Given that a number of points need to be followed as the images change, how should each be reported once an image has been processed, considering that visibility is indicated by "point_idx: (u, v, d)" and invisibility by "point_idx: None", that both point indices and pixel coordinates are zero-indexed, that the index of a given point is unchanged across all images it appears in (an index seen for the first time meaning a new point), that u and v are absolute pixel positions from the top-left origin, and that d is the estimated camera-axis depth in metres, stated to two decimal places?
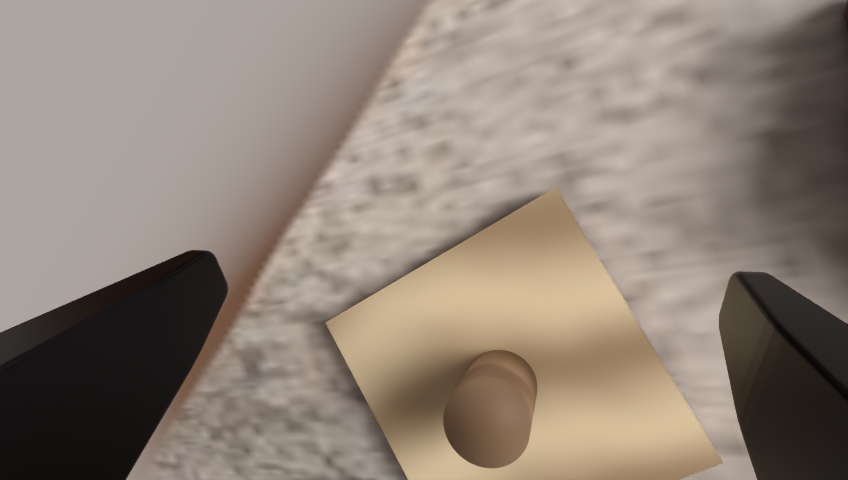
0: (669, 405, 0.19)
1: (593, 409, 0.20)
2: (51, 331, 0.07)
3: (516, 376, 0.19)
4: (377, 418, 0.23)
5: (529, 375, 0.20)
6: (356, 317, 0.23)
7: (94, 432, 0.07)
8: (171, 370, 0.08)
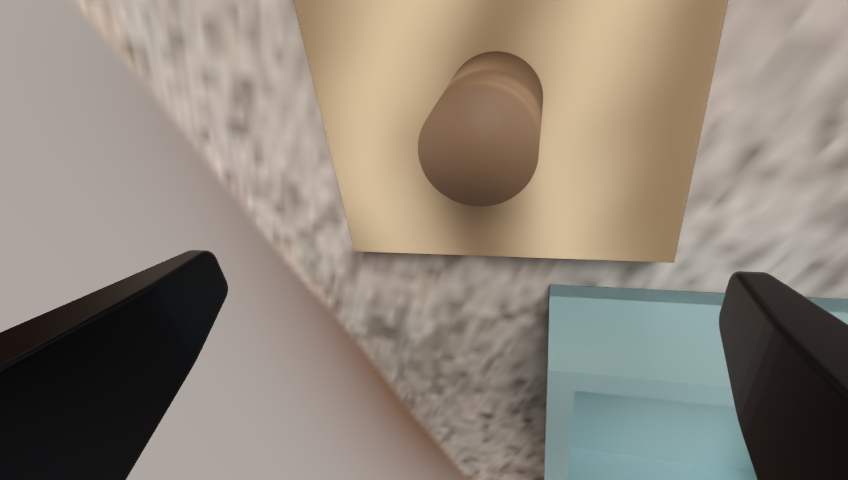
0: None
1: None
2: (51, 331, 0.07)
3: (459, 79, 0.13)
4: (474, 253, 0.20)
5: (485, 60, 0.14)
6: (359, 219, 0.20)
7: (94, 432, 0.07)
8: (171, 370, 0.08)
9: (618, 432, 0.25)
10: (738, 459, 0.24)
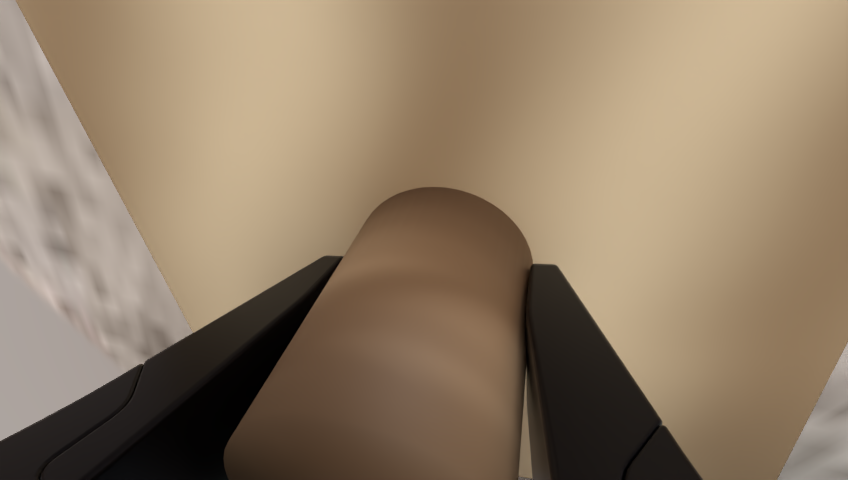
0: None
1: (609, 88, 0.06)
2: (223, 348, 0.06)
3: (341, 290, 0.06)
4: None
5: (411, 221, 0.07)
6: None
7: None
8: None
9: None
10: None
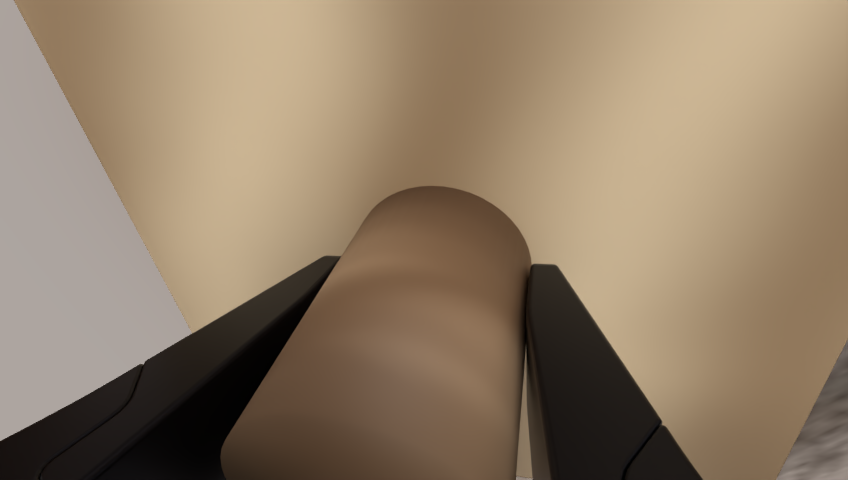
0: None
1: (607, 87, 0.06)
2: (223, 348, 0.06)
3: (339, 288, 0.06)
4: None
5: (409, 220, 0.07)
6: None
7: None
8: None
9: None
10: None
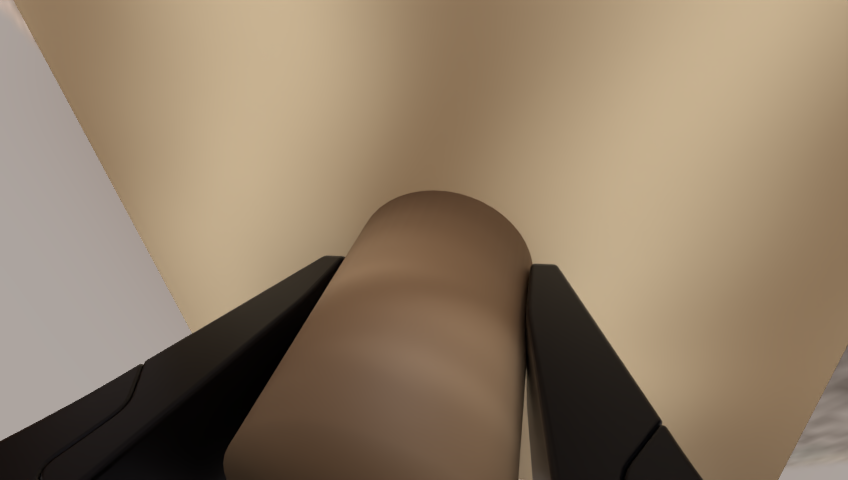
0: None
1: (609, 93, 0.06)
2: (223, 349, 0.06)
3: (341, 294, 0.06)
4: None
5: (410, 225, 0.07)
6: None
7: None
8: None
9: None
10: None
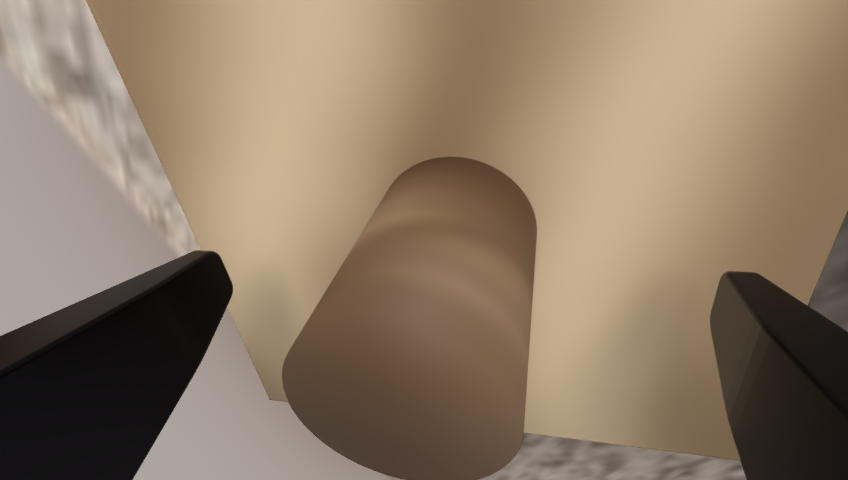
0: None
1: (603, 66, 0.07)
2: (58, 332, 0.07)
3: (375, 236, 0.07)
4: None
5: (431, 183, 0.08)
6: (270, 364, 0.14)
7: (100, 433, 0.07)
8: (177, 371, 0.08)
9: None
10: None
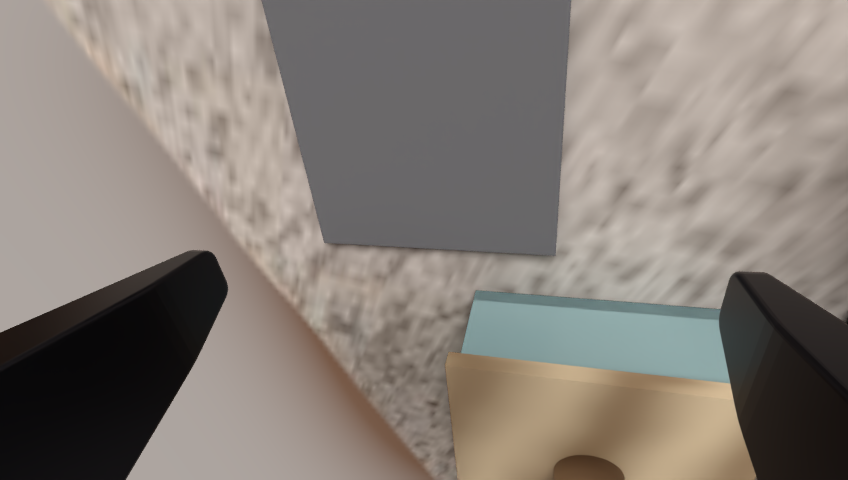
0: (700, 407, 0.18)
1: (658, 446, 0.20)
2: (51, 331, 0.07)
3: None
4: None
5: (590, 477, 0.21)
6: None
7: (94, 432, 0.07)
8: (171, 370, 0.08)
9: None
10: None
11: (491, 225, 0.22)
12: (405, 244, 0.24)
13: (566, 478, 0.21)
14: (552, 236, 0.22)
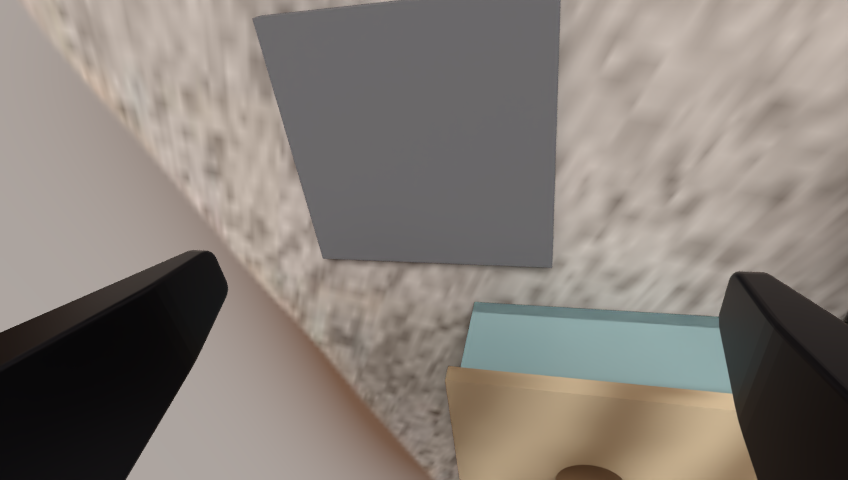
0: (698, 417, 0.19)
1: (657, 455, 0.20)
2: (51, 331, 0.07)
3: None
4: None
5: None
6: None
7: (94, 432, 0.07)
8: (171, 370, 0.08)
9: None
10: None
11: (487, 239, 0.22)
12: (404, 258, 0.24)
13: None
14: (548, 249, 0.22)
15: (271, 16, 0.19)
